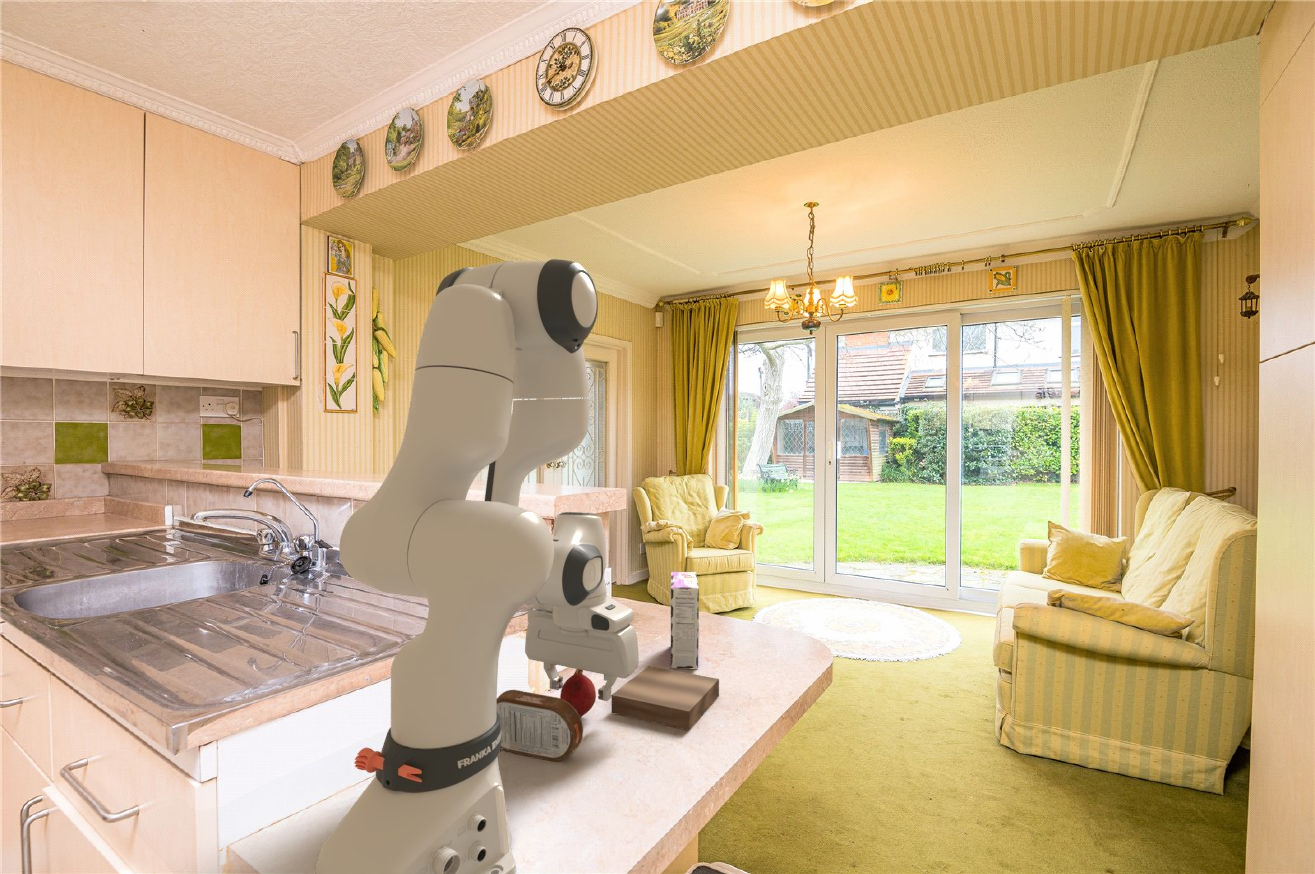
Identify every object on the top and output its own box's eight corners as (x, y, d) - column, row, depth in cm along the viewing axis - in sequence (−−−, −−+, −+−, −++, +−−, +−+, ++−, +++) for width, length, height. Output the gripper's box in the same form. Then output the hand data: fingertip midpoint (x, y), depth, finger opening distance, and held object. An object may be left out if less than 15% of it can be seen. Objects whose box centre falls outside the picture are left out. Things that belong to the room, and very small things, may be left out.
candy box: (670, 644, 132) (670, 570, 132) (697, 645, 132) (697, 571, 132) (669, 669, 118) (669, 586, 118) (699, 669, 118) (699, 586, 118)
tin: (584, 757, 85) (584, 699, 85) (573, 769, 82) (573, 708, 82) (495, 739, 90) (495, 684, 90) (482, 749, 87) (482, 692, 88)
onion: (589, 728, 94) (589, 677, 94) (554, 724, 95) (554, 674, 95) (600, 711, 100) (600, 663, 100) (567, 708, 101) (567, 661, 101)
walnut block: (689, 730, 93) (689, 711, 93) (611, 712, 99) (611, 694, 99) (719, 695, 106) (719, 678, 106) (648, 681, 112) (648, 665, 112)
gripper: (516, 606, 99) (517, 689, 99) (624, 623, 90) (624, 714, 90) (539, 597, 105) (540, 675, 105) (643, 612, 96) (643, 697, 96)
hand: (580, 693), depth 98 cm, fingers open, 8 cm apart
